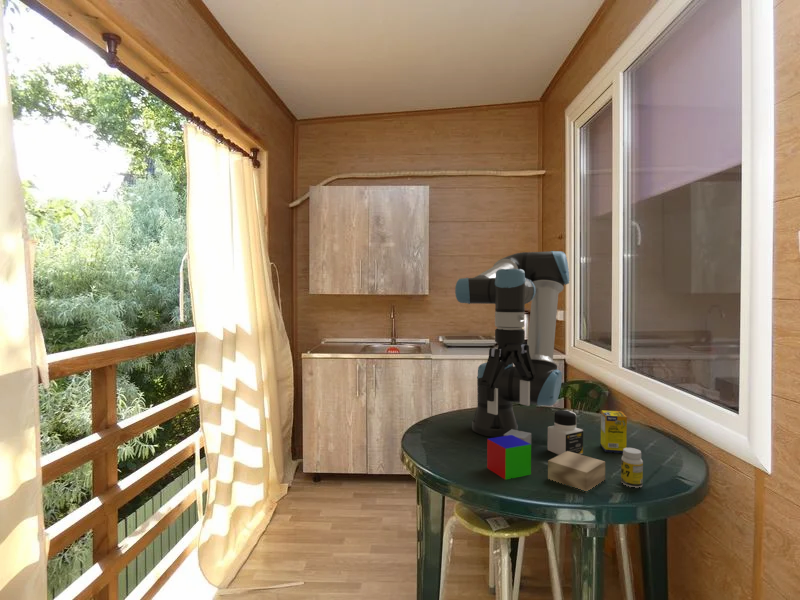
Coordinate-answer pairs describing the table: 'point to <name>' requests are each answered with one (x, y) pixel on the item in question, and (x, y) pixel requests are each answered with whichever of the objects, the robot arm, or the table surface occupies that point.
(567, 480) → the oak block
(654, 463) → the table surface
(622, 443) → the supplement box
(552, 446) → the medicine bottle
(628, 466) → the supplement bottle
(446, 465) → the table surface
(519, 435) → the grey block
